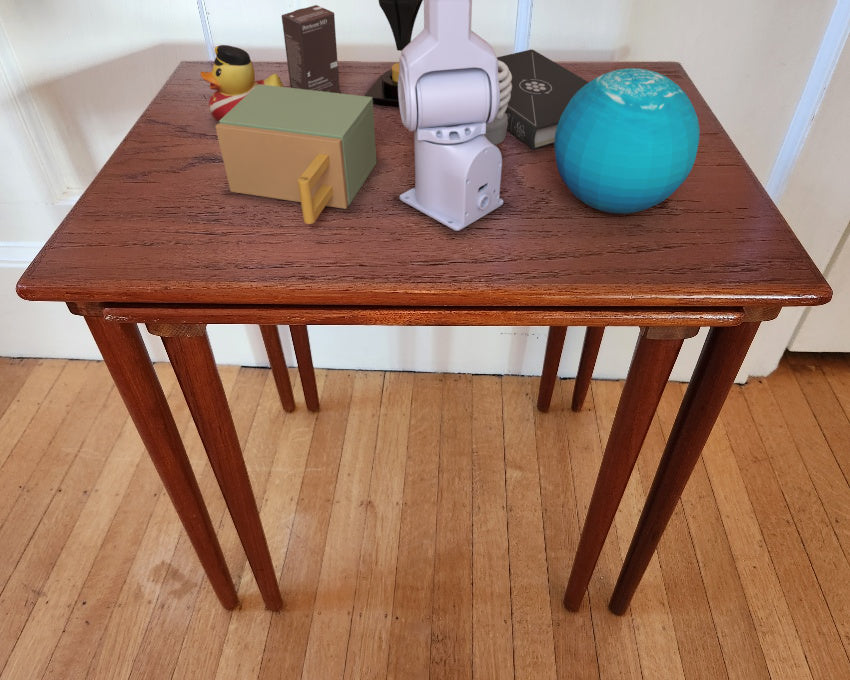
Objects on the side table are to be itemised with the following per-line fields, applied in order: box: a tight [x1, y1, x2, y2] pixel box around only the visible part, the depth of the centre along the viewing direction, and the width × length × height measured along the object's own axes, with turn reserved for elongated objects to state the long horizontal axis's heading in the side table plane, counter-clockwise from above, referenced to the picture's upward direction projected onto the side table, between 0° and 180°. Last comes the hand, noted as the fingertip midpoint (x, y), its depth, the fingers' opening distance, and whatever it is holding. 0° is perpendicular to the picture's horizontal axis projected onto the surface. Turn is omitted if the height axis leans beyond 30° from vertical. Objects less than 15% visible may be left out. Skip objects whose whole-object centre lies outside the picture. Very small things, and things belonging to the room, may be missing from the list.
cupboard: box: [218, 84, 378, 206], centre depth 80 cm, size 10×15×9 cm
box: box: [281, 4, 341, 94], centre depth 95 cm, size 6×4×12 cm
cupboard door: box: [214, 122, 349, 225], centre depth 74 cm, size 7×15×8 cm, turn 75°
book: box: [496, 49, 590, 150], centre depth 96 cm, size 22×15×3 cm
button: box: [391, 62, 399, 82], centre depth 97 cm, size 4×4×2 cm
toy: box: [200, 44, 285, 123], centre depth 91 cm, size 9×11×10 cm
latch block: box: [364, 68, 399, 108], centre depth 99 cm, size 10×8×3 cm
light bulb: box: [484, 60, 512, 146], centre depth 83 cm, size 6×6×12 cm
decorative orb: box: [553, 67, 701, 215], centre depth 73 cm, size 15×15×15 cm
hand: (403, 48), depth 95 cm, fingers closed
